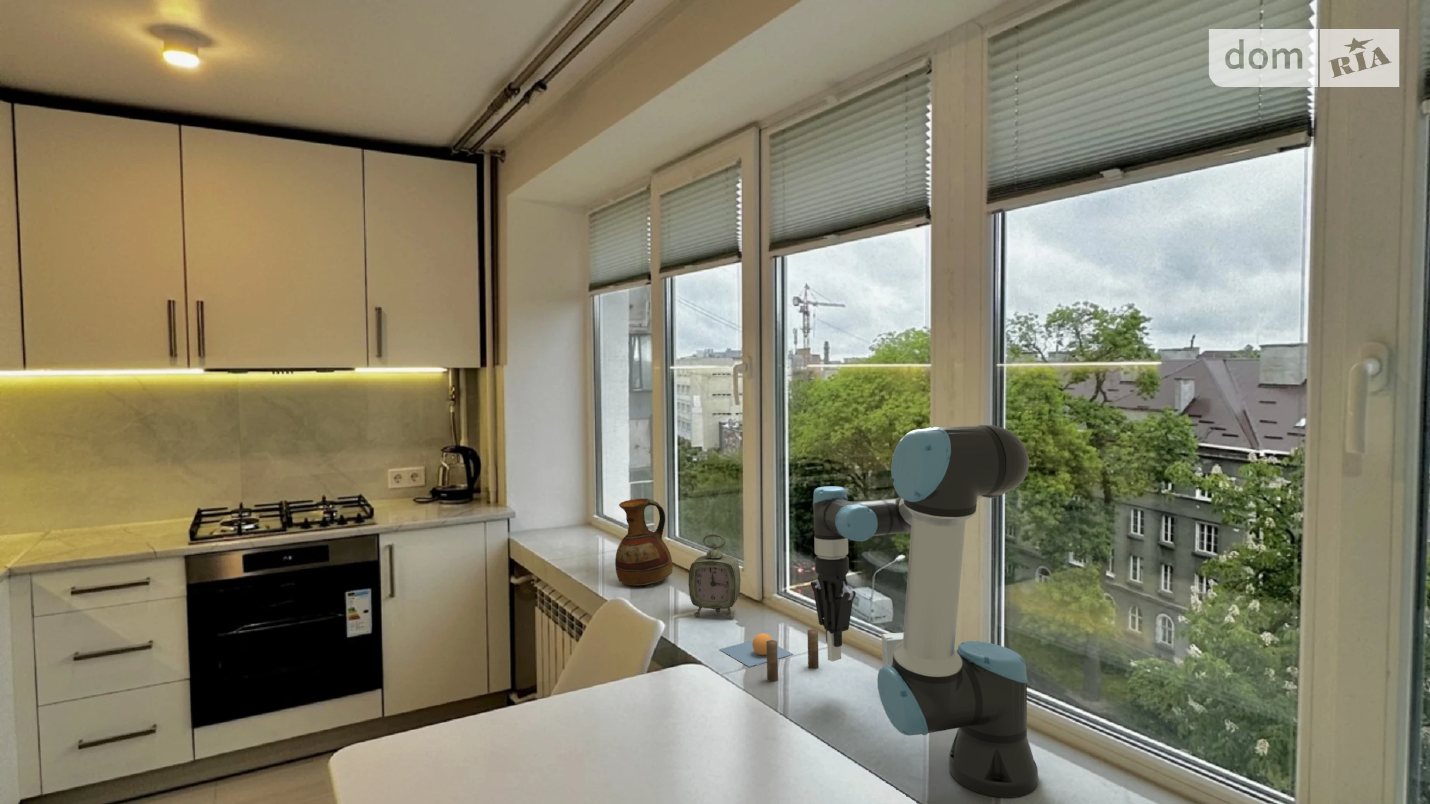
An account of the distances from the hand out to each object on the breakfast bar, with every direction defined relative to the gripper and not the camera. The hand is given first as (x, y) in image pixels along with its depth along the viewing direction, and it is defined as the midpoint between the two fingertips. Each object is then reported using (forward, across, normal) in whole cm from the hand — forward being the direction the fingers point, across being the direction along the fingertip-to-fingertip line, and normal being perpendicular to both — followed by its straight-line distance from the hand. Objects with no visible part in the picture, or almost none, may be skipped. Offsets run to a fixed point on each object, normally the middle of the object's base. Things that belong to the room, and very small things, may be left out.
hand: (834, 659), depth 166 cm
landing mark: (+8, +32, 0) cm, 33 cm away
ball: (+5, +29, -1) cm, 30 cm away
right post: (+8, +16, -6) cm, 19 cm away
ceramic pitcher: (+6, +108, -5) cm, 108 cm away
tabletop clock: (+7, +63, -7) cm, 64 cm away
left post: (+8, +16, +6) cm, 19 cm away
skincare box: (+9, -4, -15) cm, 18 cm away
